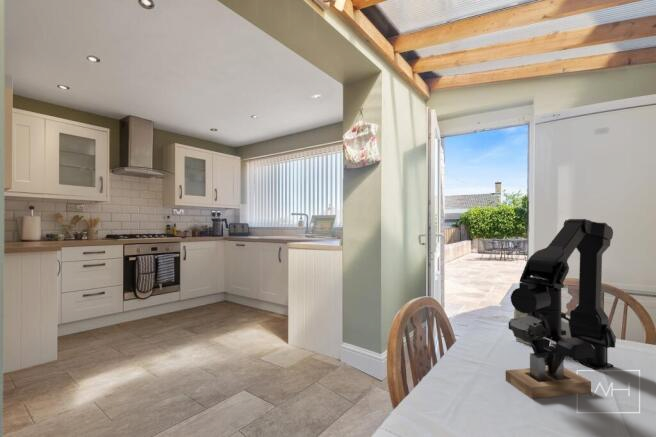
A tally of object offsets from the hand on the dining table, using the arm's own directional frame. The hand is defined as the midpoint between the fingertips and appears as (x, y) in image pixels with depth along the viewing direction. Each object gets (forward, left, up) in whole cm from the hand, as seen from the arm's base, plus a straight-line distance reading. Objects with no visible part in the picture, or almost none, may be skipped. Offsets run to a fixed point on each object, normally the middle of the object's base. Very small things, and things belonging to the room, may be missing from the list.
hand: (546, 370), depth 74 cm
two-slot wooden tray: (0, 0, -4) cm, 4 cm away
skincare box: (-17, -24, -4) cm, 30 cm away
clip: (0, 0, -2) cm, 2 cm away
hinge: (-31, -29, -4) cm, 43 cm away
